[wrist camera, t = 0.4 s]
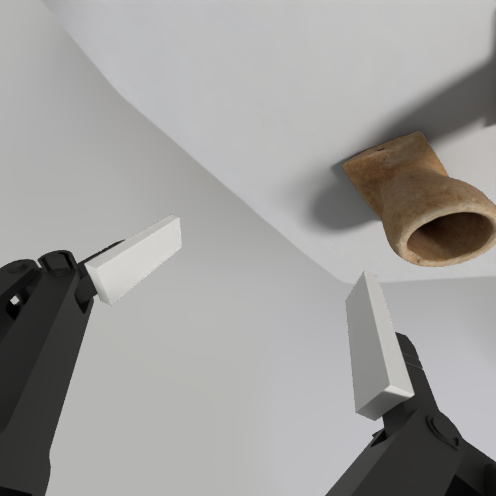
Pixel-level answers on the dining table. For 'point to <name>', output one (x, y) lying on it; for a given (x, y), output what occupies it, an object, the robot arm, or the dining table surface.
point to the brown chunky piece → (423, 203)
